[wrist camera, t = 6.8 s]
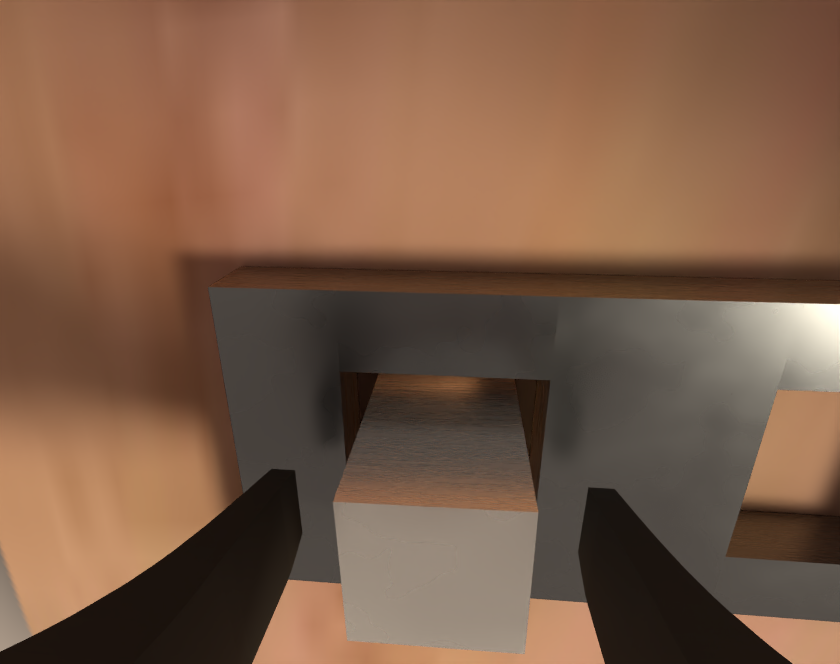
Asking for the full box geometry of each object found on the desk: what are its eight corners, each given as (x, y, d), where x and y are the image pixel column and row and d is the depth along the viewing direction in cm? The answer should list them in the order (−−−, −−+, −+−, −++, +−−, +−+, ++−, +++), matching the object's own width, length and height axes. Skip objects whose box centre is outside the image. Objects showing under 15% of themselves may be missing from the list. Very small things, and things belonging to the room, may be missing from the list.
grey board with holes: (1124, 287, 13) (1249, 318, 11) (959, 578, 16) (1028, 642, 14) (240, 266, 14) (204, 289, 12) (278, 531, 18) (254, 582, 16)
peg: (512, 370, 15) (538, 512, 10) (506, 477, 17) (524, 654, 11) (381, 366, 15) (332, 501, 10) (386, 472, 17) (347, 640, 11)
